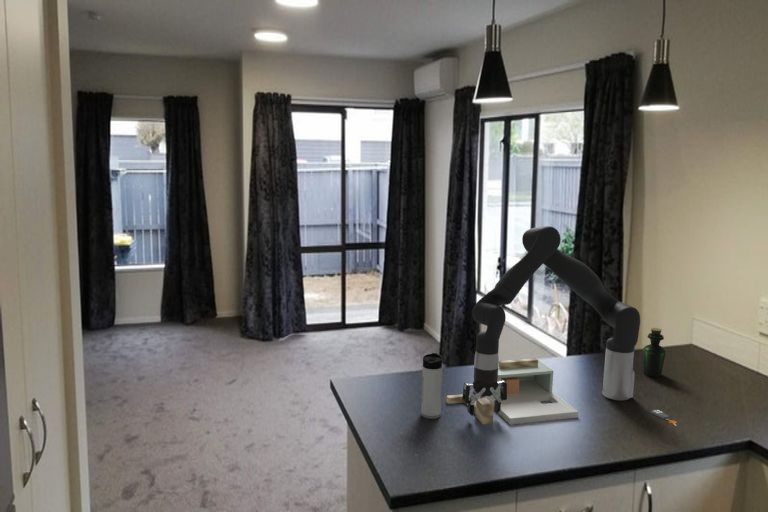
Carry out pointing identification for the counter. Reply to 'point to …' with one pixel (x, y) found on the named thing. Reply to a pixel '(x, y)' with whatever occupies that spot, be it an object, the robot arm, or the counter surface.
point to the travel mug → (431, 386)
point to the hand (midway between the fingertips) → (483, 413)
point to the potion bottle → (654, 354)
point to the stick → (518, 363)
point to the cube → (512, 384)
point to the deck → (532, 396)
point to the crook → (476, 407)
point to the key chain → (662, 416)
